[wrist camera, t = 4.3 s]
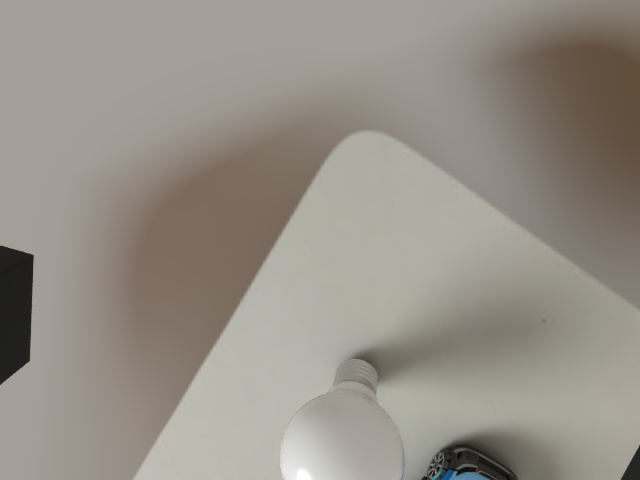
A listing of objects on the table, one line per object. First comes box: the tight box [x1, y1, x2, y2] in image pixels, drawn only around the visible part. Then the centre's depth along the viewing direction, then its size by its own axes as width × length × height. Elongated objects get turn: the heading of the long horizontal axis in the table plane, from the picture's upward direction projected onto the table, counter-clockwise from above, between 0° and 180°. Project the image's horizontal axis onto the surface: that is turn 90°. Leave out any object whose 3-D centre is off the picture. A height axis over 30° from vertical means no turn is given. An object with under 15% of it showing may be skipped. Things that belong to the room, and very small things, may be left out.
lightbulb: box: [280, 359, 405, 480], centre depth 30 cm, size 6×6×11 cm
